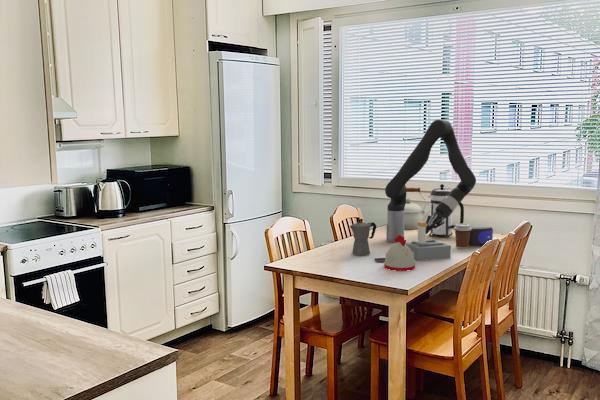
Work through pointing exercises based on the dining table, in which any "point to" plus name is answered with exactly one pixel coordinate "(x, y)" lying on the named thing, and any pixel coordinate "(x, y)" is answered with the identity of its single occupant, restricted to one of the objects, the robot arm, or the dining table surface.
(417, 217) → the kettle
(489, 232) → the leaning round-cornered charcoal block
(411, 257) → the cream and red dome
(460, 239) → the coffee cup
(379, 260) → the cords
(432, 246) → the box
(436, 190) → the coffee press
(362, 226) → the coffeepot
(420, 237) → the breaker slider
